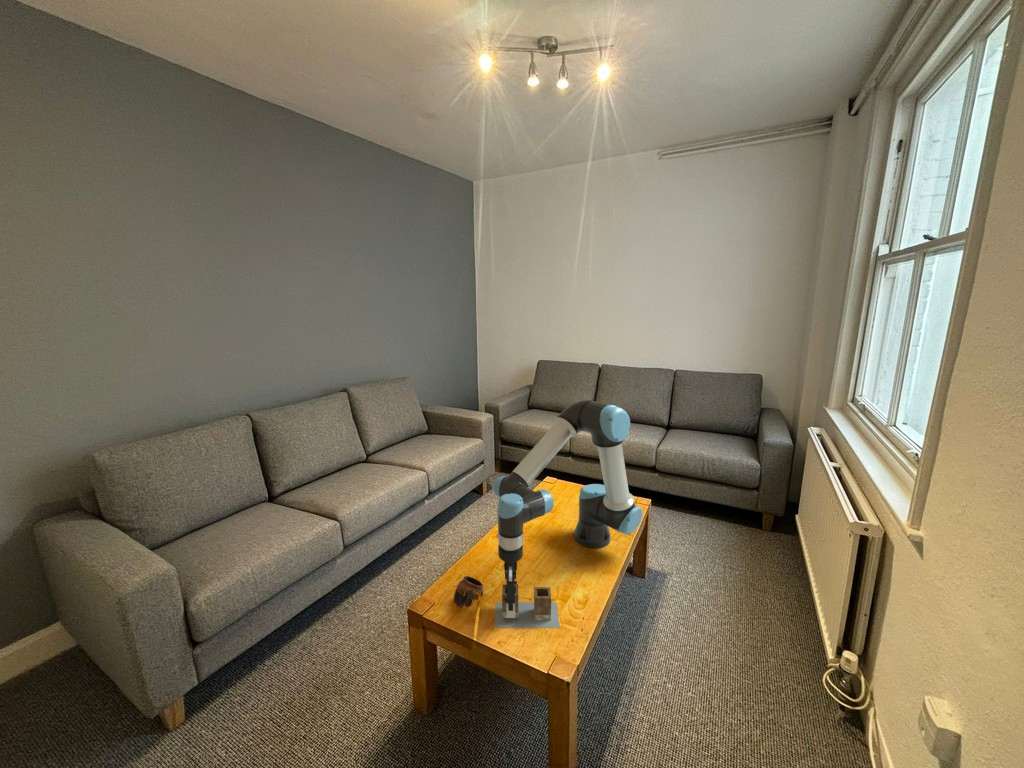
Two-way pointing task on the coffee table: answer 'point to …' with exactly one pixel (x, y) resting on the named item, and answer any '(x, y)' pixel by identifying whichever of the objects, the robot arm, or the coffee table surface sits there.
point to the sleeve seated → (542, 603)
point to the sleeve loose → (504, 595)
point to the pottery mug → (467, 591)
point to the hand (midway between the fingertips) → (510, 610)
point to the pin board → (525, 617)
